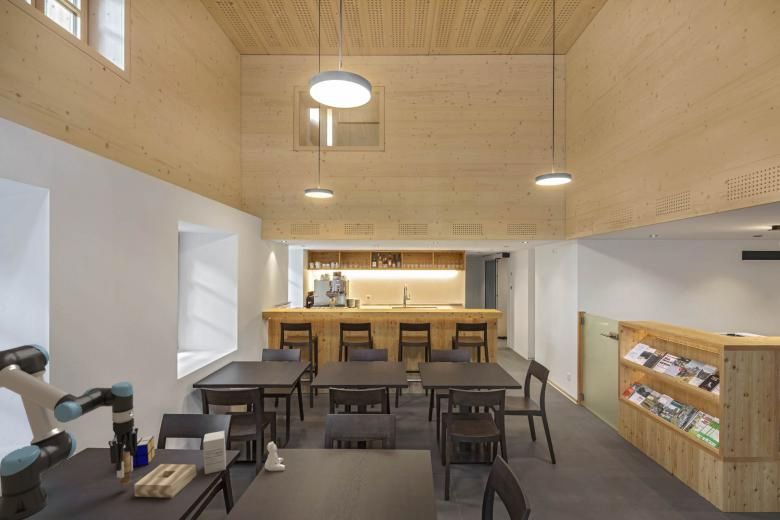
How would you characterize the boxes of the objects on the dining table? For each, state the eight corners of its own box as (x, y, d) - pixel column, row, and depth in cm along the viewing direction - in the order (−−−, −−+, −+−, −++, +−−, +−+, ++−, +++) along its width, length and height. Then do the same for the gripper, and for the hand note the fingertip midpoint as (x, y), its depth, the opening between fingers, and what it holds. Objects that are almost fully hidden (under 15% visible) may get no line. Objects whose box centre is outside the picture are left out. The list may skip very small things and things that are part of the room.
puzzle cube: (124, 468, 186) (123, 447, 186) (132, 458, 196) (131, 438, 196) (148, 464, 189) (147, 444, 189) (155, 454, 198) (154, 435, 198)
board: (134, 496, 163) (134, 484, 163) (162, 474, 179) (161, 464, 179) (172, 497, 161) (171, 485, 161) (196, 475, 176) (195, 464, 176)
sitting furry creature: (285, 470, 177) (284, 444, 177) (265, 475, 174) (264, 448, 174) (283, 461, 186) (281, 435, 186) (264, 465, 183) (262, 439, 183)
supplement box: (206, 465, 185) (204, 433, 185) (226, 460, 189) (224, 429, 189) (204, 474, 177) (202, 441, 177) (225, 470, 180) (223, 437, 180)
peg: (117, 486, 166) (116, 455, 166) (124, 480, 170) (123, 450, 170) (125, 486, 165) (124, 456, 165) (133, 481, 169) (132, 451, 169)
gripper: (114, 428, 158) (116, 486, 159) (146, 411, 175) (147, 463, 176) (98, 428, 159) (100, 485, 160) (131, 411, 176) (132, 463, 177)
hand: (125, 473), depth 168 cm, fingers closed on peg, 4 cm apart
